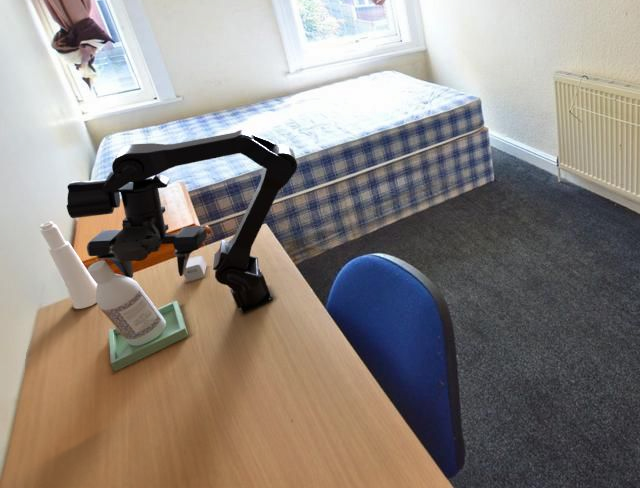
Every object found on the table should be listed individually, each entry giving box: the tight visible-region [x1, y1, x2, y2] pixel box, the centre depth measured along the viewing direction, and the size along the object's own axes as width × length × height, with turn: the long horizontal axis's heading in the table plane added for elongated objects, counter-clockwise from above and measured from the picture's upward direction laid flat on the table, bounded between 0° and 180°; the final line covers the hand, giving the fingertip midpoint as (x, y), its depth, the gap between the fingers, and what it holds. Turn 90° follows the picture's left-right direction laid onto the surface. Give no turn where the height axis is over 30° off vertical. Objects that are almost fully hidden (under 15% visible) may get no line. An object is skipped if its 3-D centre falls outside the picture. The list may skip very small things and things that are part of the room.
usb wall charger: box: [183, 255, 207, 282], centre depth 120 cm, size 4×7×4 cm, turn 25°
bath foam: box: [87, 260, 166, 346], centre depth 95 cm, size 7×7×20 cm
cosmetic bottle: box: [39, 221, 97, 310], centre depth 110 cm, size 6×6×22 cm
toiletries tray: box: [108, 300, 189, 372], centre depth 100 cm, size 13×13×2 cm
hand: (156, 276), depth 97 cm, fingers open, 9 cm apart
